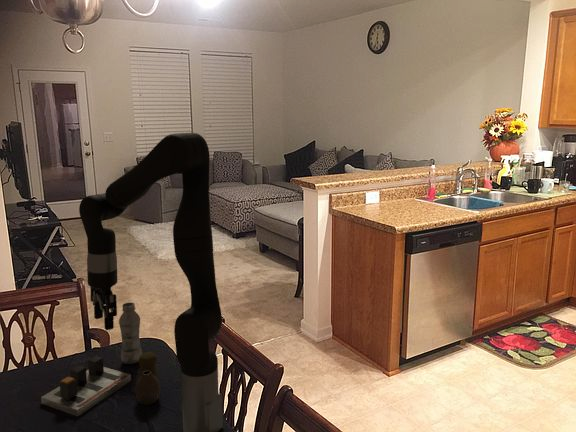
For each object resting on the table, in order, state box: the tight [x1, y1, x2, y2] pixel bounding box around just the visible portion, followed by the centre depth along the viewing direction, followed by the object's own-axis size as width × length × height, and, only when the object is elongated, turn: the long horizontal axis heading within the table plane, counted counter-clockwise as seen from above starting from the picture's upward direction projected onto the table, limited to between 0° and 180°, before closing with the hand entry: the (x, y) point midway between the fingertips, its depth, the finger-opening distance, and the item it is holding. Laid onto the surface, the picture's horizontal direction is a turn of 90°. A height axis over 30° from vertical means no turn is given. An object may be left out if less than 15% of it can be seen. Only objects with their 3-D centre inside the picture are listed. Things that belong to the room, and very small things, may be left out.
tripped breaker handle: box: [59, 376, 77, 400], centre depth 133 cm, size 3×3×5 cm
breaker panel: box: [40, 355, 132, 417], centre depth 140 cm, size 14×20×6 cm
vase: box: [134, 371, 161, 406], centre depth 135 cm, size 7×7×9 cm
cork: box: [138, 351, 159, 380], centre depth 141 cm, size 6×6×11 cm
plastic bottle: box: [118, 302, 143, 365], centre depth 155 cm, size 6×7×20 cm
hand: (103, 323), depth 132 cm, fingers open, 8 cm apart
